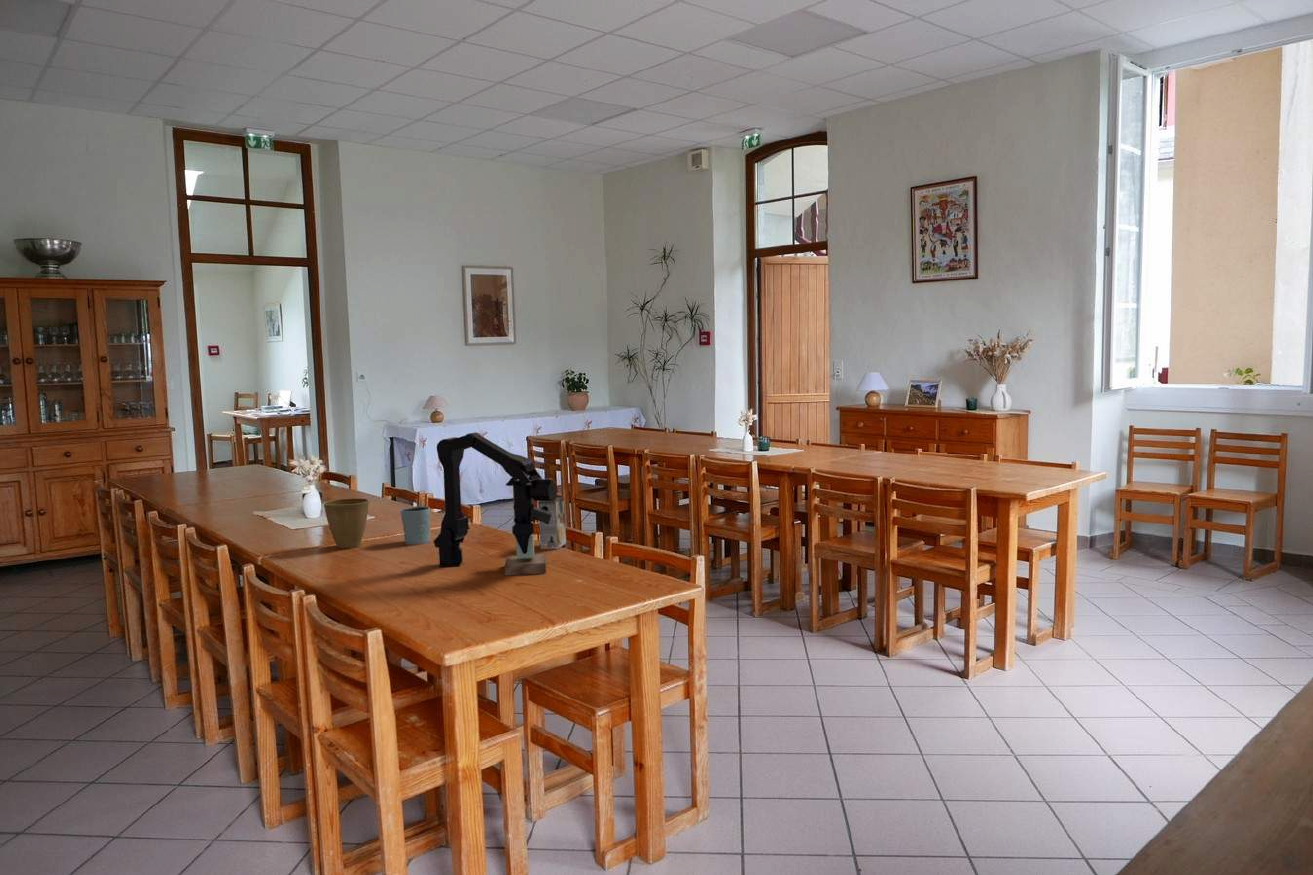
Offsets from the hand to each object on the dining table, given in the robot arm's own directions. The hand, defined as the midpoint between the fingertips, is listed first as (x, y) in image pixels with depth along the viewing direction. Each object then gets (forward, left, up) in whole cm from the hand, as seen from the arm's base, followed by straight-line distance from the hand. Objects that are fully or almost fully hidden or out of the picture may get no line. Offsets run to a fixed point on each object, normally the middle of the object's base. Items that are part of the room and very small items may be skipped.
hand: (525, 551), depth 264 cm
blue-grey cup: (-40, +49, -6) cm, 63 cm away
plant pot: (-63, +48, -6) cm, 79 cm away
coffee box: (+8, +30, -6) cm, 32 cm away
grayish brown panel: (0, 0, -6) cm, 6 cm away
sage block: (0, 0, -2) cm, 2 cm away
